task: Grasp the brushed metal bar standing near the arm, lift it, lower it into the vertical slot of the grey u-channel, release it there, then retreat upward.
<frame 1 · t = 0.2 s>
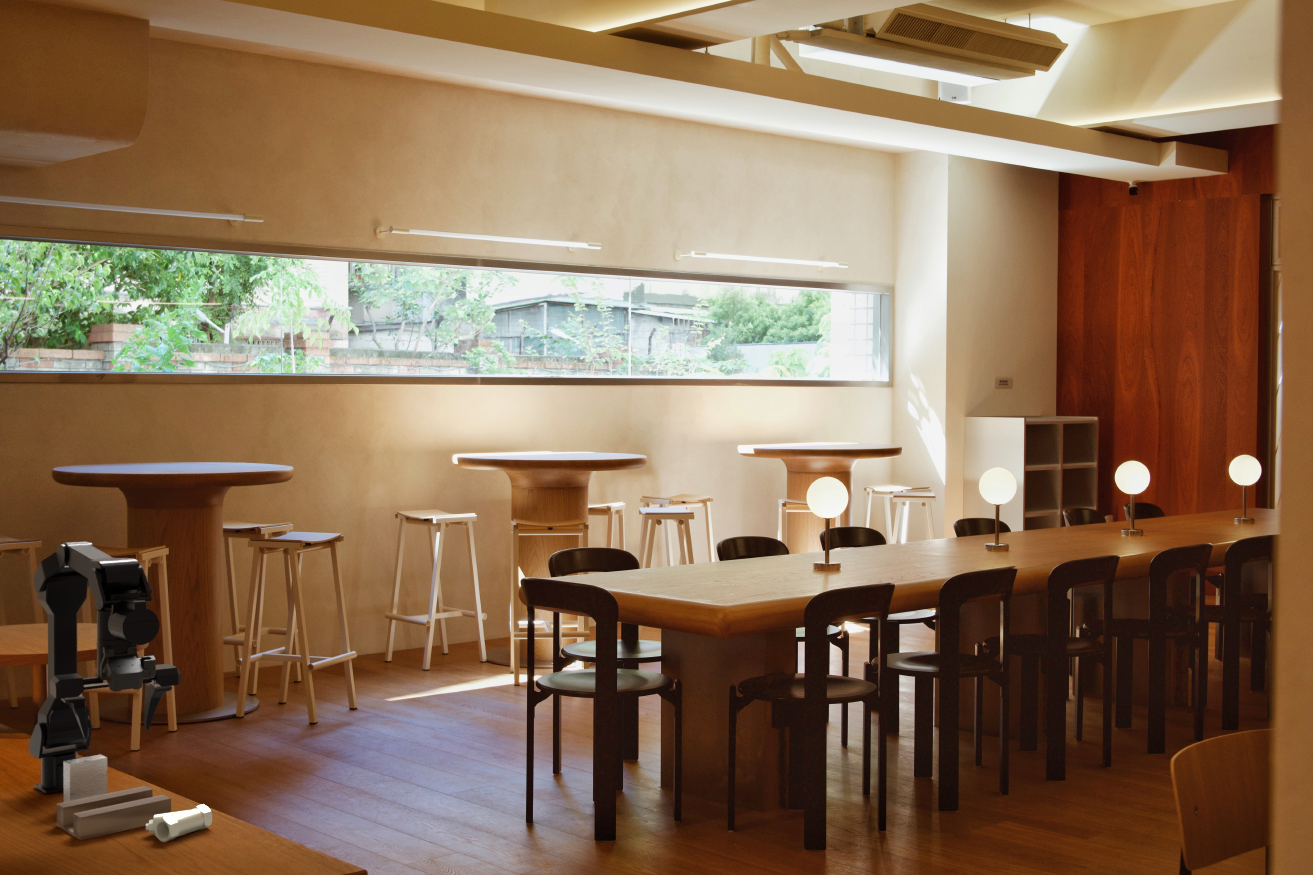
hand: (116, 733, 195), 14 cm above the table, fingers open, 9 cm apart
brushed metal bar: (85, 806, 203), on the table
grey u-channel: (114, 822, 194), on the table
pipe fitting: (176, 835, 188), on the table
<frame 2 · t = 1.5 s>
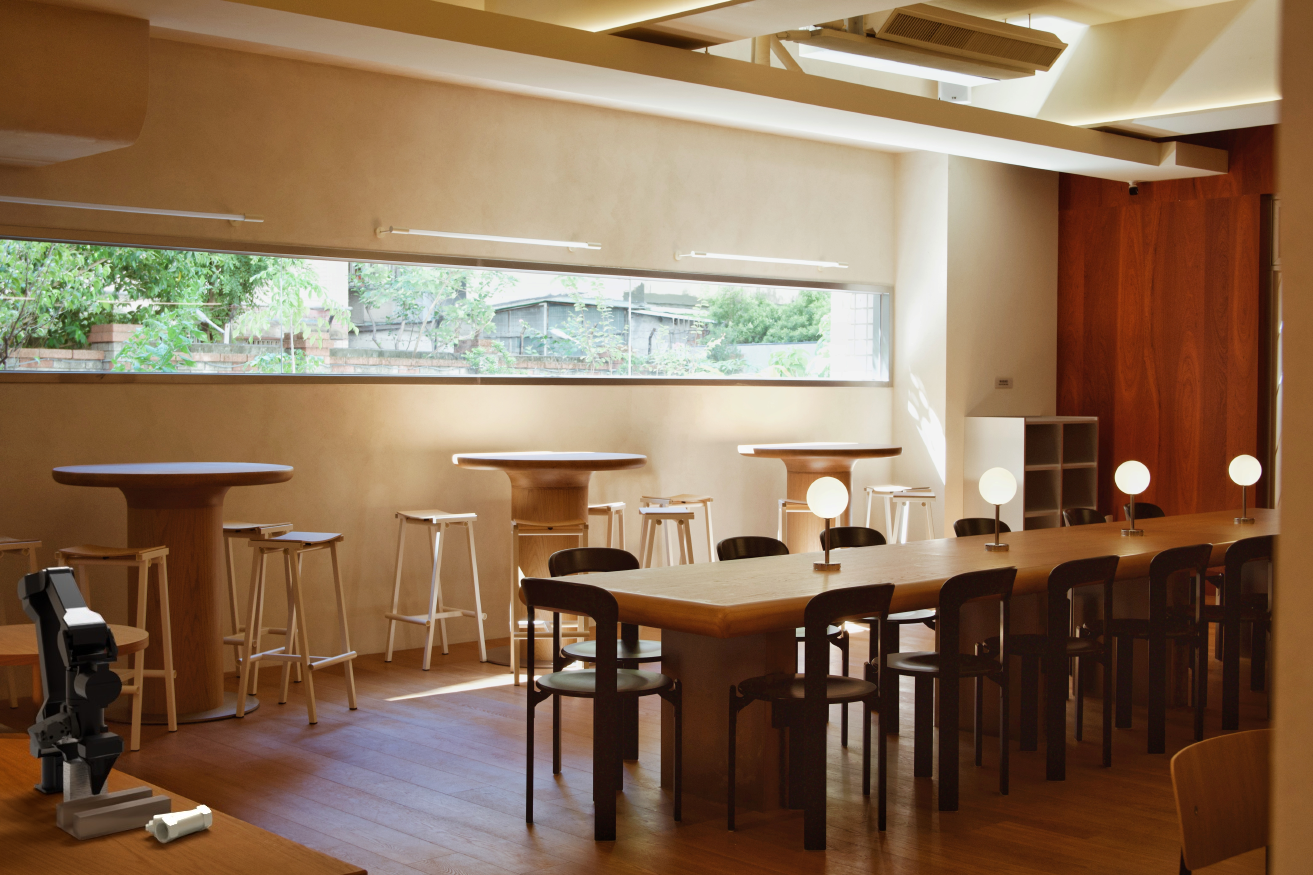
hand: (85, 789, 203), 3 cm above the table, fingers open, 9 cm apart
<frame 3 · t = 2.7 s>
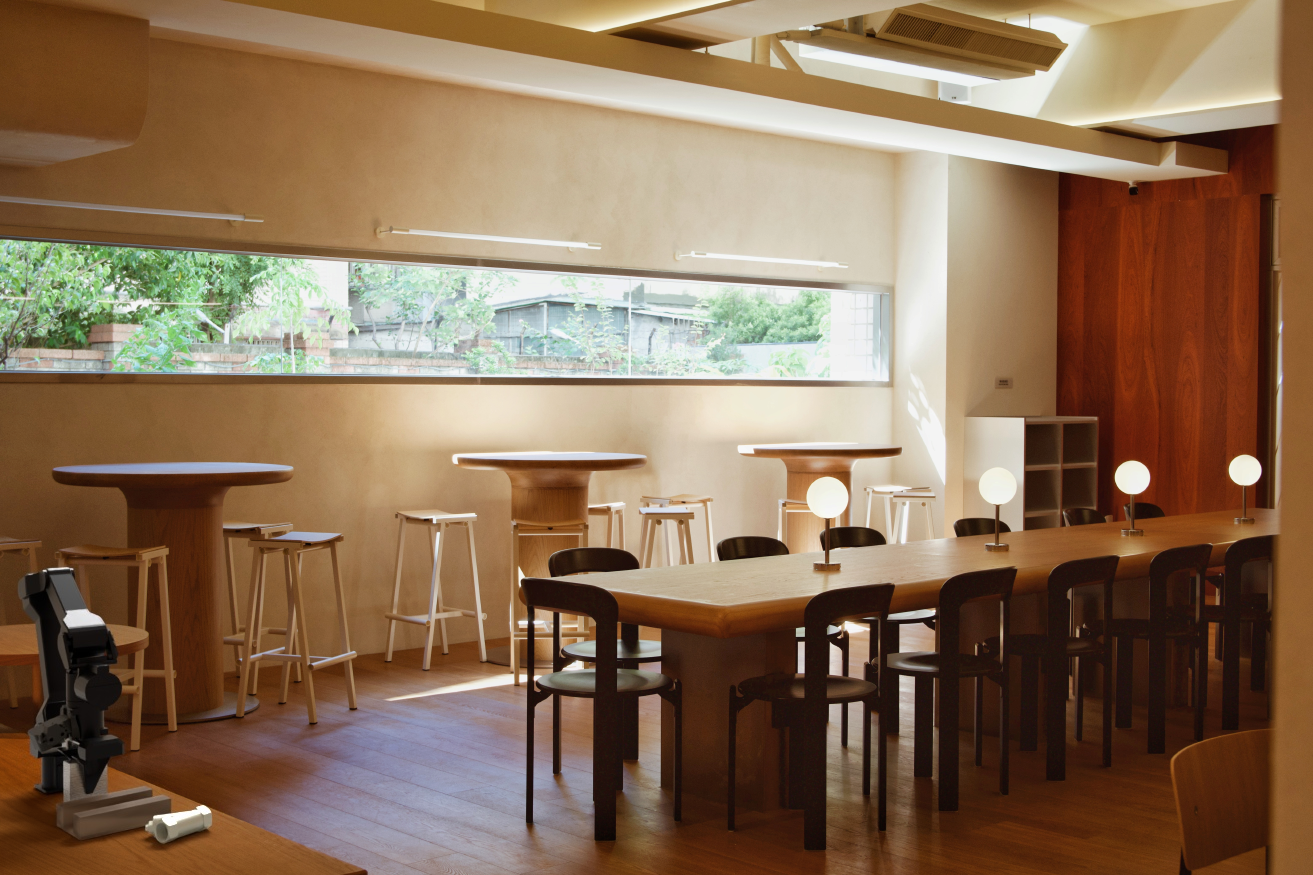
hand: (85, 791, 203), 3 cm above the table, fingers closed on brushed metal bar, 3 cm apart
brushed metal bar: (85, 806, 203), on the table, touching gripper
everything else where it was.
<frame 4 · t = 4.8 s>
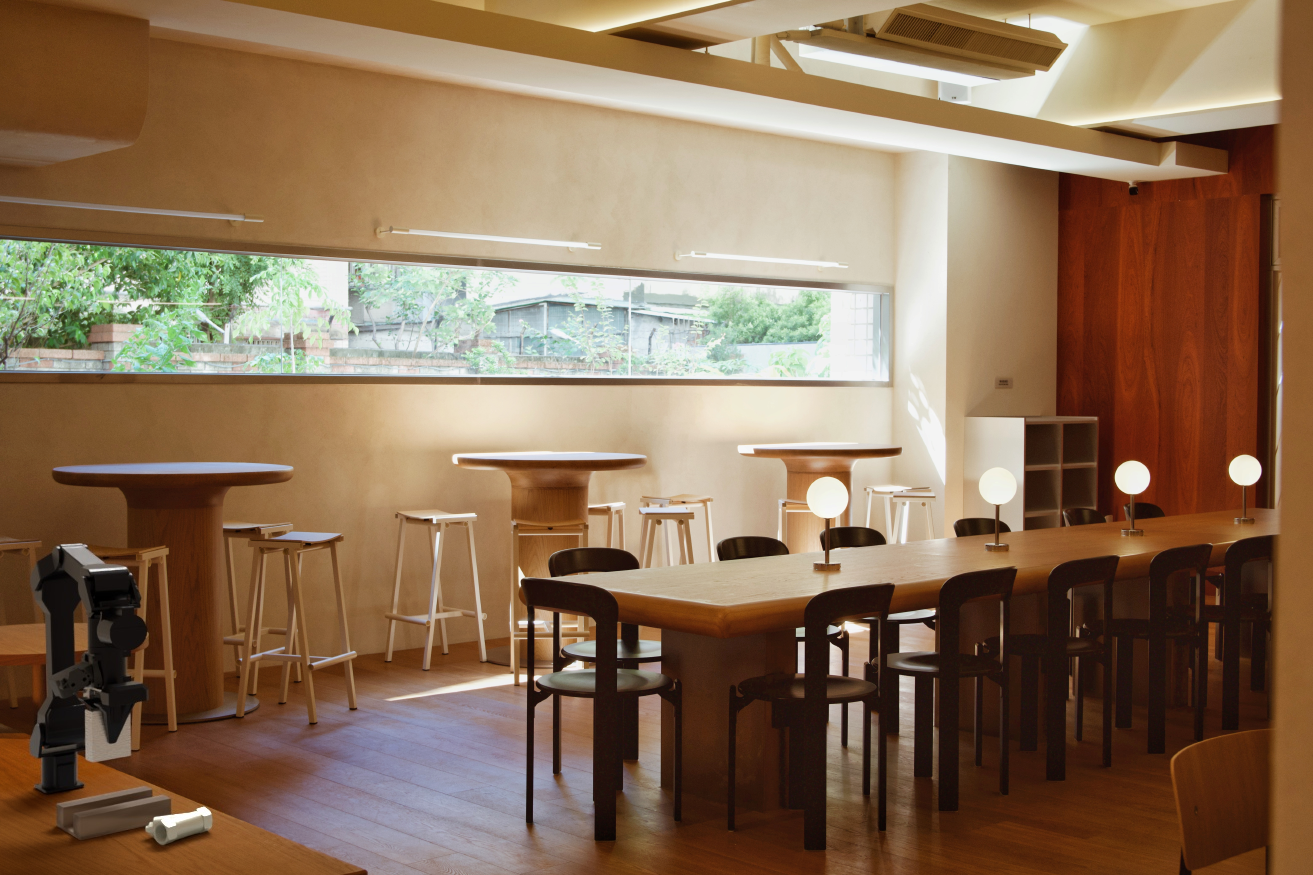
hand: (108, 741, 195), 13 cm above the table, fingers closed on brushed metal bar, 3 cm apart
brushed metal bar: (108, 757, 195), point 10 cm above the table, touching gripper
when the fingers open (4 cm above the table, at t = 7.0 s): brushed metal bar drops 1 cm, resting on grey u-channel.
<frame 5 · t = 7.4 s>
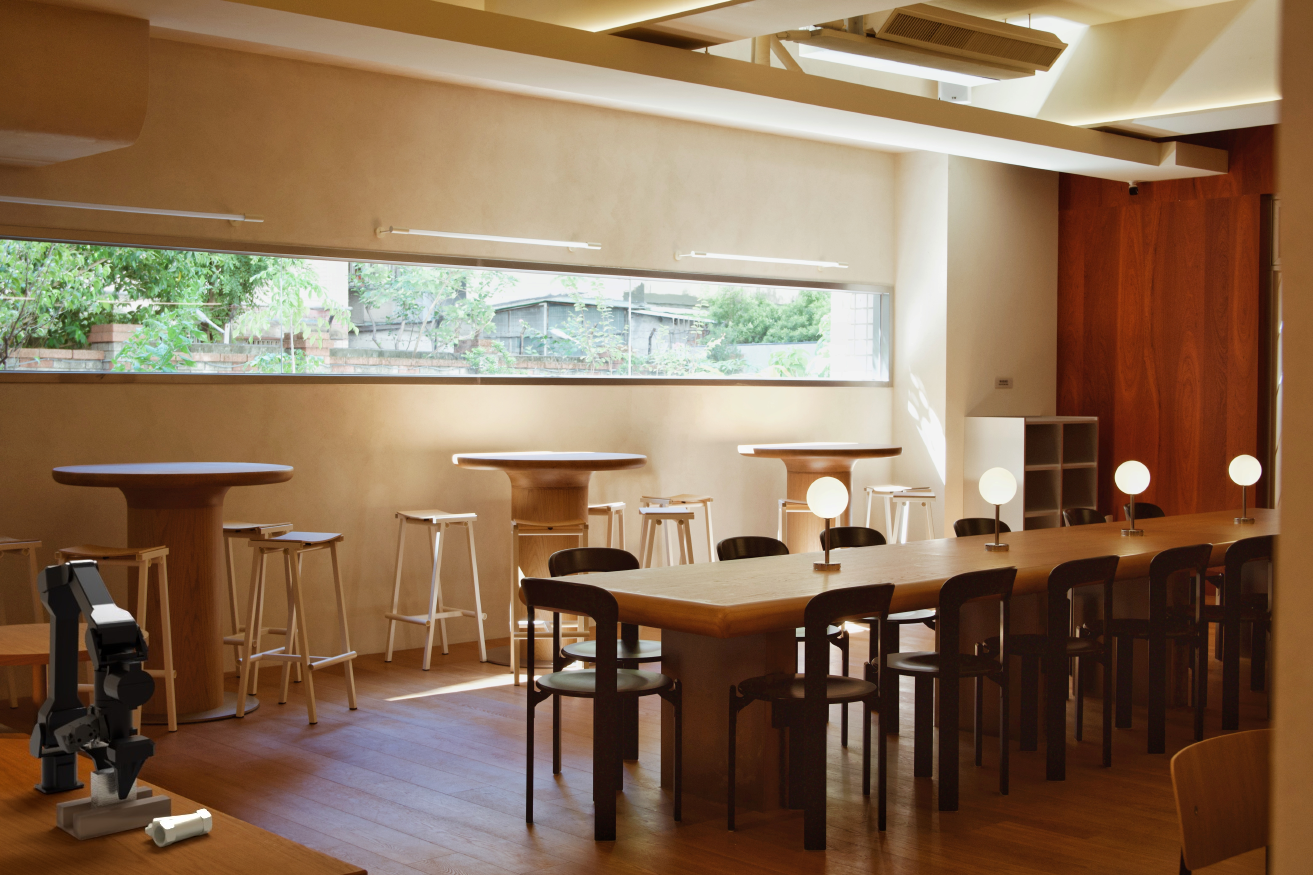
hand: (114, 794, 194), 4 cm above the table, fingers open, 7 cm apart
brushed metal bar: (114, 819, 194), resting on grey u-channel
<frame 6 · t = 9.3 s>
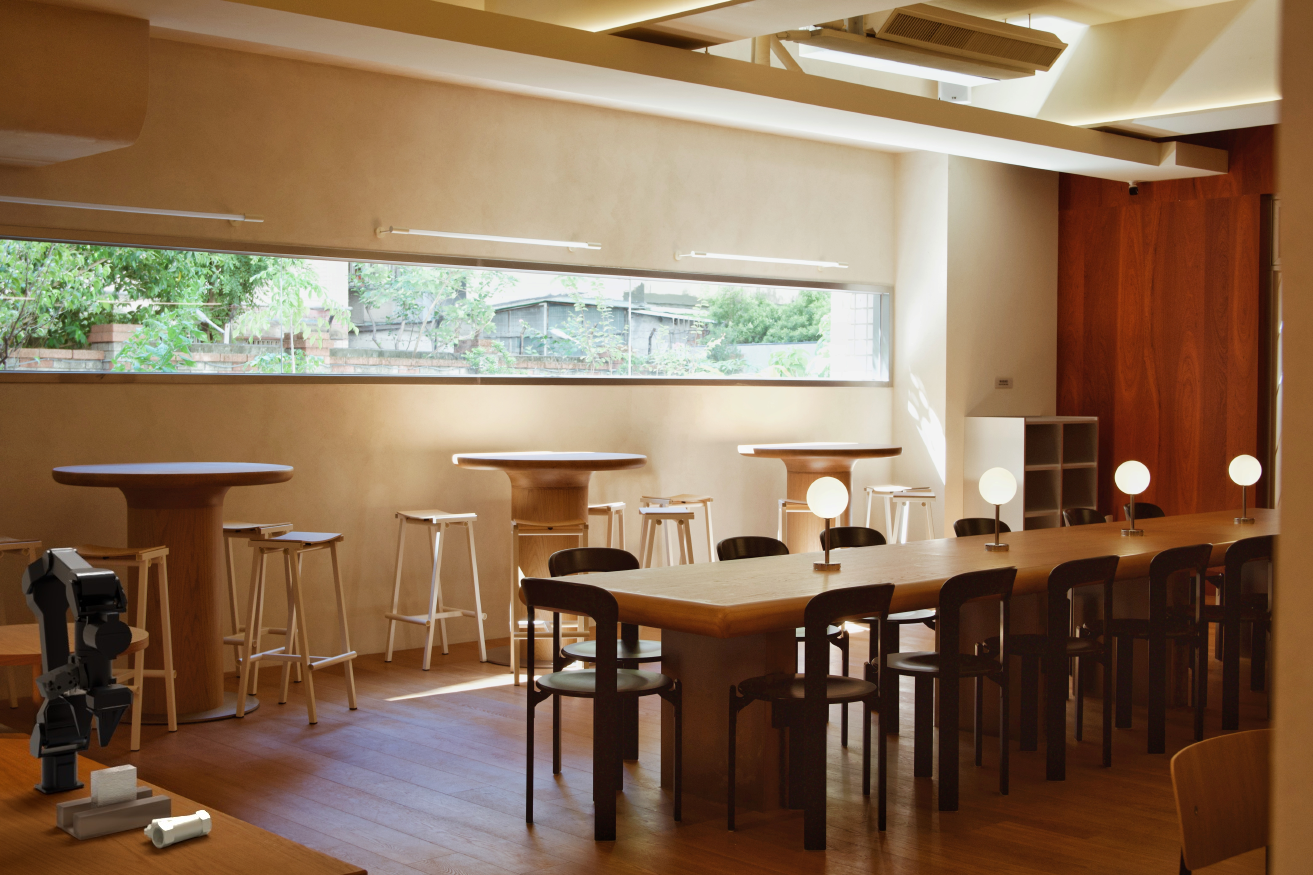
hand: (93, 741, 200), 12 cm above the table, fingers open, 9 cm apart
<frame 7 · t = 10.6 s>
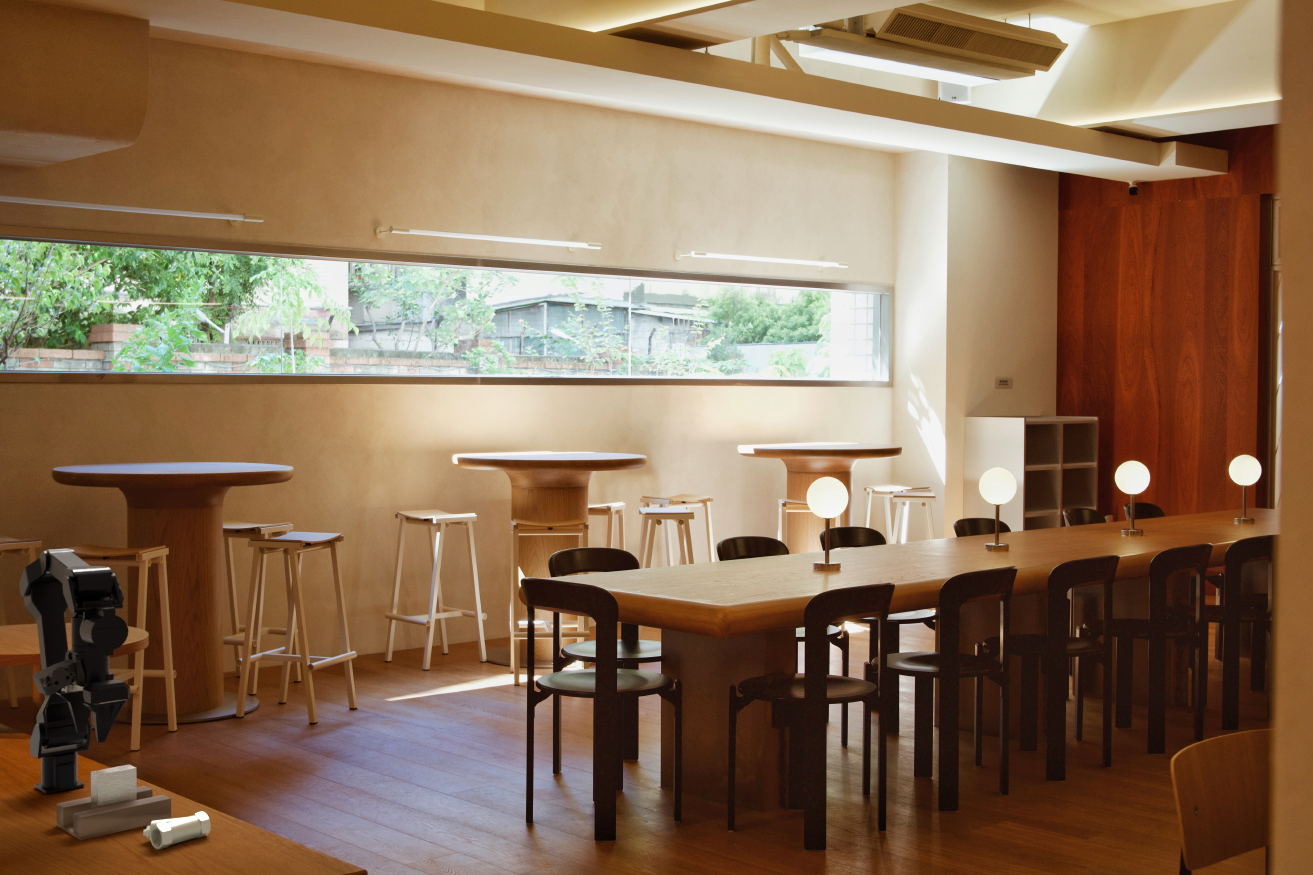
hand: (90, 737, 201), 12 cm above the table, fingers open, 9 cm apart
at the end: brushed metal bar inside the target area on the grey u-channel (0.0 cm from its centre), point 0.5 cm above the grey u-channel's base; brushed metal bar tilted 0°; the gripper is holding nothing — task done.
